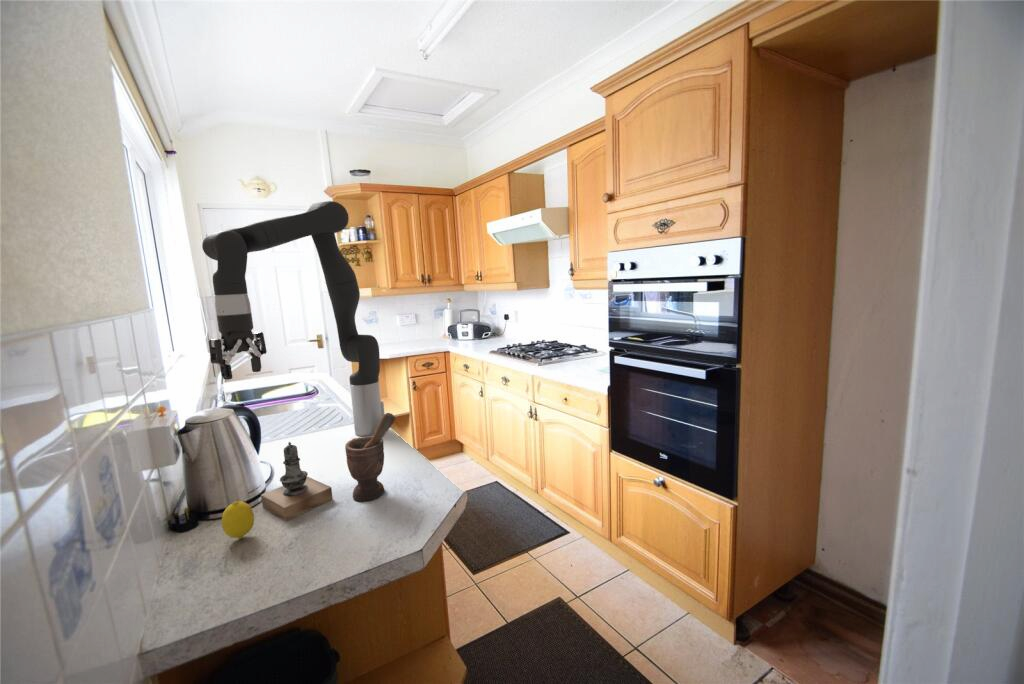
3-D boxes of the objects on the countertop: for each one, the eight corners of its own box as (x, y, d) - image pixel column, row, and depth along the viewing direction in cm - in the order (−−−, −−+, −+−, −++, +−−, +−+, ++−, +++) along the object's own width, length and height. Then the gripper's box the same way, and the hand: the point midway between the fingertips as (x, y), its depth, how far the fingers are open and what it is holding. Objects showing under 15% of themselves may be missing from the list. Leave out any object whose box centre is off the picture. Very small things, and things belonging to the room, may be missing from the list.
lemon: (262, 532, 91) (257, 496, 90) (238, 548, 86) (232, 510, 85) (243, 528, 93) (237, 493, 92) (218, 544, 88) (212, 506, 87)
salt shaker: (314, 484, 105) (308, 437, 104) (300, 497, 100) (293, 446, 98) (291, 484, 106) (285, 437, 104) (275, 497, 100) (269, 446, 98)
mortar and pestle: (399, 480, 112) (392, 405, 109) (402, 496, 104) (395, 414, 101) (350, 490, 108) (342, 411, 105) (350, 506, 100) (341, 422, 97)
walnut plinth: (308, 487, 111) (306, 476, 110) (332, 499, 104) (331, 487, 104) (262, 506, 102) (260, 494, 102) (286, 520, 96) (284, 507, 95)
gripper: (219, 315, 103) (229, 382, 106) (268, 309, 117) (276, 369, 119) (195, 315, 105) (205, 381, 108) (246, 310, 119) (254, 369, 121)
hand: (242, 375), depth 113 cm, fingers open, 8 cm apart
